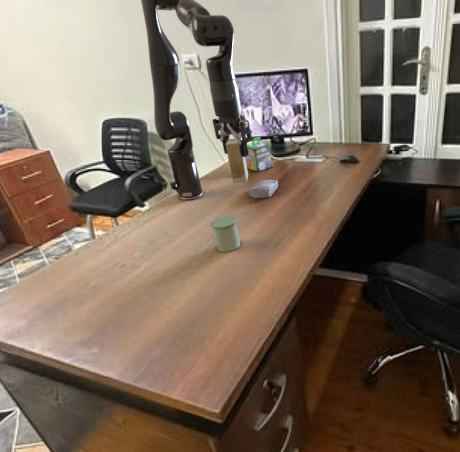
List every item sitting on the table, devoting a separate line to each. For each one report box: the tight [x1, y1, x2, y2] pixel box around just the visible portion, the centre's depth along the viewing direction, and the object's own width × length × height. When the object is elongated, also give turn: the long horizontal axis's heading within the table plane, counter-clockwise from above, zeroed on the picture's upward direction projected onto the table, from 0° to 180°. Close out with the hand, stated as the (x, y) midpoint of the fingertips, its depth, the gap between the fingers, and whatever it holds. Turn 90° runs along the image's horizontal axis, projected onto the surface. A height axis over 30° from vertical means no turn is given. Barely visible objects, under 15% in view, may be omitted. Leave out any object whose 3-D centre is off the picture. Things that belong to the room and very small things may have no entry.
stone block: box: [248, 179, 279, 199], centre depth 142 cm, size 12×5×10 cm
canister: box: [210, 215, 241, 253], centre depth 104 cm, size 7×7×8 cm
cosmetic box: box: [226, 137, 249, 184], centre depth 107 cm, size 6×4×12 cm
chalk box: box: [245, 136, 273, 173], centre depth 167 cm, size 9×9×15 cm
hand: (236, 154), depth 106 cm, fingers closed on cosmetic box, 7 cm apart
